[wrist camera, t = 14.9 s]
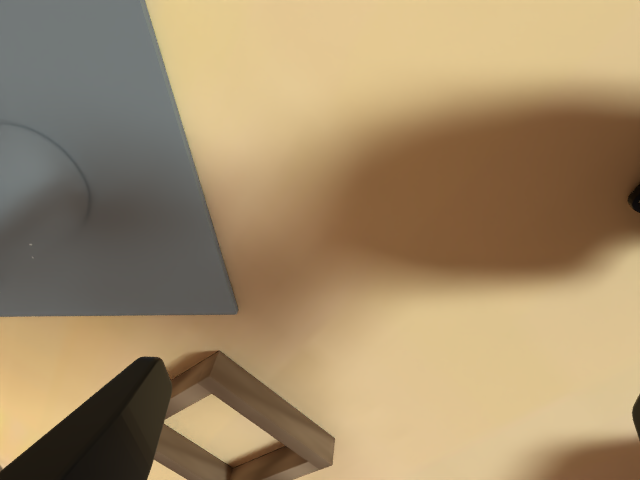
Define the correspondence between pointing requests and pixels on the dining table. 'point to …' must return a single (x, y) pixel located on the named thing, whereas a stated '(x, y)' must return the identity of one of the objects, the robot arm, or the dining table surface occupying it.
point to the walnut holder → (256, 405)
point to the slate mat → (109, 165)
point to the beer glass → (35, 197)
